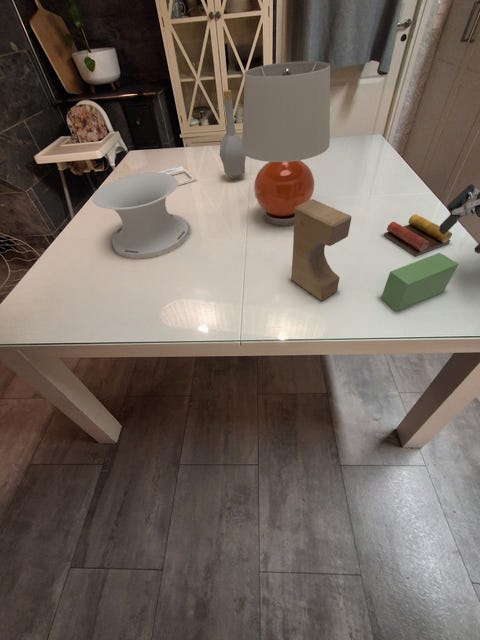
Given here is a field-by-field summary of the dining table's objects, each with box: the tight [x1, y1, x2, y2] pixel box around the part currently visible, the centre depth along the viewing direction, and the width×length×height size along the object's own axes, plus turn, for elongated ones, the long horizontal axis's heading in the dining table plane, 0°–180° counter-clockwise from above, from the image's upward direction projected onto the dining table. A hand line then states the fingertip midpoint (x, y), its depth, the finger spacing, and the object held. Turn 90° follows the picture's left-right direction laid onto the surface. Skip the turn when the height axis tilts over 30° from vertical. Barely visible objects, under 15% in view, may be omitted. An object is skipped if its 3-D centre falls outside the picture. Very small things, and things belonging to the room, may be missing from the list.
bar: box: [380, 252, 459, 312], centre depth 67 cm, size 5×14×8 cm, turn 114°
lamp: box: [241, 60, 331, 227], centre depth 86 cm, size 25×25×39 cm
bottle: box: [219, 89, 247, 180], centre depth 115 cm, size 11×11×30 cm
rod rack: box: [383, 213, 453, 257], centre depth 84 cm, size 12×12×4 cm
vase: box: [91, 171, 190, 259], centre depth 93 cm, size 25×25×16 cm
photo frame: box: [157, 165, 196, 186], centre depth 131 cm, size 15×1×18 cm
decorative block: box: [290, 198, 352, 302], centre depth 68 cm, size 11×6×20 cm, turn 34°
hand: (458, 241), depth 63 cm, fingers open, 8 cm apart
